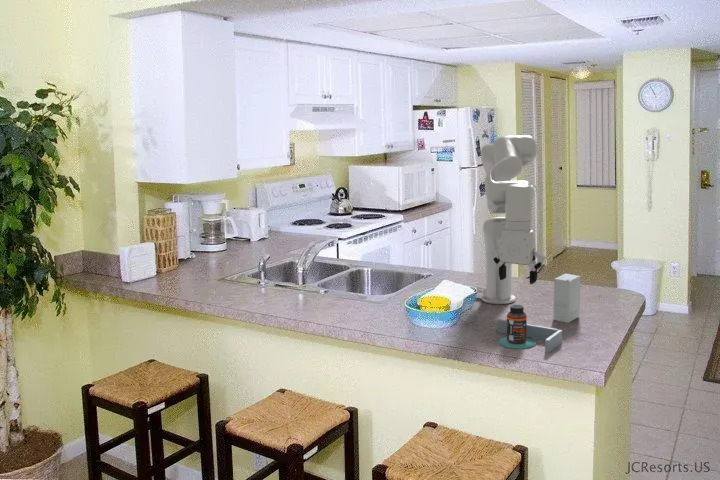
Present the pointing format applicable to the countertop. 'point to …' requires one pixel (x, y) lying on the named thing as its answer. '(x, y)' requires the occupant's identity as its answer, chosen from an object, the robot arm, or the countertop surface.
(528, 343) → the pad
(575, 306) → the skincare box
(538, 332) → the divider wall
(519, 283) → the countertop surface
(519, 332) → the supplement bottle
